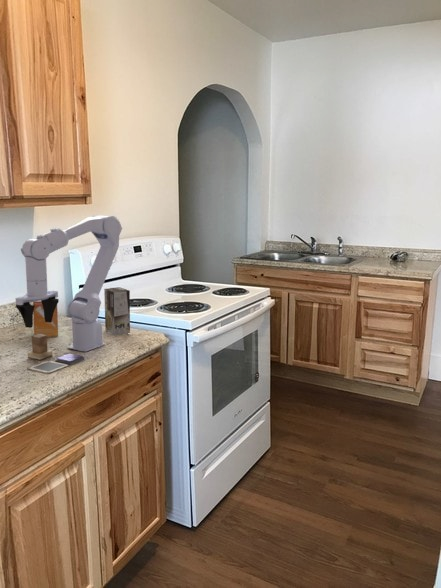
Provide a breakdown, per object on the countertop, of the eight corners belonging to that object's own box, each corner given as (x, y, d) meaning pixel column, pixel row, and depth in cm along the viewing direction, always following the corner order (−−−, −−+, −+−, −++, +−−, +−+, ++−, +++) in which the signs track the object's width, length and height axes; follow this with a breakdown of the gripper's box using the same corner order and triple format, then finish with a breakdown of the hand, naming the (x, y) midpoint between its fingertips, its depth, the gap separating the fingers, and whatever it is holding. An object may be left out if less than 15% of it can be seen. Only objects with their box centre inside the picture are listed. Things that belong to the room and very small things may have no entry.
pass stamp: (40, 354, 154) (39, 332, 153) (52, 357, 152) (51, 334, 151) (27, 358, 150) (26, 336, 149) (40, 361, 148) (39, 338, 147)
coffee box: (130, 334, 180) (130, 290, 178) (114, 336, 177) (113, 291, 174) (120, 328, 188) (120, 286, 185) (104, 330, 184) (103, 287, 181)
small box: (34, 338, 172) (32, 301, 170) (34, 333, 178) (33, 297, 176) (58, 336, 175) (57, 300, 173) (58, 332, 181) (57, 297, 179)
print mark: (48, 361, 148) (48, 360, 148) (69, 365, 144) (69, 364, 144) (27, 369, 141) (27, 368, 141) (48, 374, 137) (48, 372, 137)
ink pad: (69, 356, 152) (69, 353, 152) (84, 359, 150) (84, 356, 150) (55, 362, 147) (54, 358, 147) (70, 365, 145) (70, 361, 144)
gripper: (45, 275, 155) (47, 318, 157) (7, 281, 142) (9, 327, 145) (62, 277, 152) (64, 320, 154) (24, 284, 139) (27, 331, 142)
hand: (38, 324), depth 149 cm, fingers open, 7 cm apart
